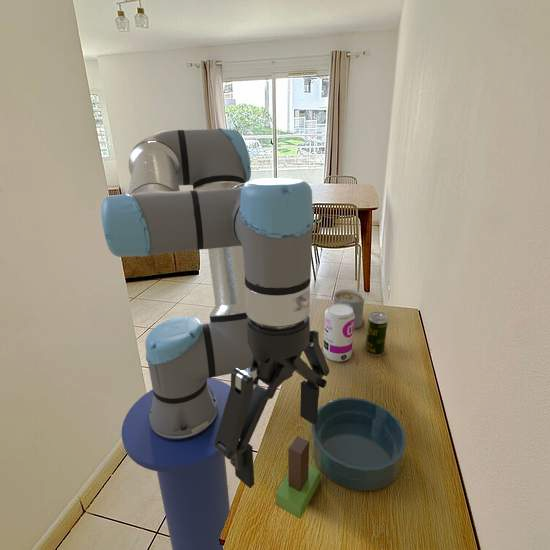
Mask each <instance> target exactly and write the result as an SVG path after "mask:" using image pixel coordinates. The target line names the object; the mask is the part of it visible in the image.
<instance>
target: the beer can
mask: <svg viewBox="0 0 550 550" xmlns="http://www.w3.org/2000/svg"><path fill="white" fill-rule="evenodd" d="M388 320H389V319H388V315H387V314H386V313H384V312H381V311H372V312H370V313H369V316H368V317H367V327H366V337H365V347H364V348H365V351H366V354H368V355H369V356H372V357H373V356H374V357H380V356H382V355H383V354H384V352H385V347H386V339H387V330H388V322H389V321H388Z"/></svg>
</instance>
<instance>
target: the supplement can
mask: <svg viewBox="0 0 550 550" xmlns="http://www.w3.org/2000/svg"><path fill="white" fill-rule="evenodd" d="M354 320H355V314H354V312H353V309H352V308H351V307H350V306H348V305H345V304H333V303H332V304H330V305H328V306H327V309H326V310H325V312H324V326H323V327H324V329H323V347H322V348H323V350H322V352H323V355H324V357H325V358H327V359H328V360H330V361H332V362H339V363H341V362H345V361H347V360H348V359H350V358H351V357H352V354H353V342H354V331H355V329H354Z"/></svg>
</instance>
